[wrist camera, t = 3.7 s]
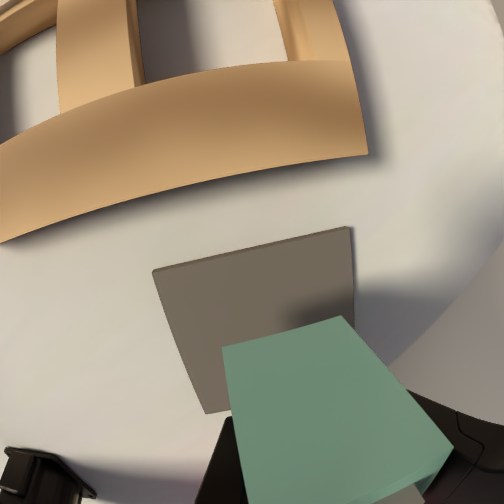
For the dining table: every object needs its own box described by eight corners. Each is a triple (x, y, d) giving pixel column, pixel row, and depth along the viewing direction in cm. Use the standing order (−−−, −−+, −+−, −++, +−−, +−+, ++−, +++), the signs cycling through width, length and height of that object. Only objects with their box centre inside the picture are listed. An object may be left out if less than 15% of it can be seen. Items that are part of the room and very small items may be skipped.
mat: (350, 369, 14) (353, 374, 14) (205, 409, 14) (205, 414, 13) (345, 226, 12) (349, 228, 12) (153, 269, 11) (151, 273, 11)
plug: (341, 395, 11) (418, 522, 4) (245, 423, 10) (284, 573, 4) (340, 315, 9) (468, 464, 3) (221, 347, 9) (260, 554, 3)
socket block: (336, 154, 11) (376, 154, 8) (-11, 244, 9) (-49, 265, 7) (277, -65, 7) (294, -99, 4) (-24, 29, 6) (-54, 15, 3)
